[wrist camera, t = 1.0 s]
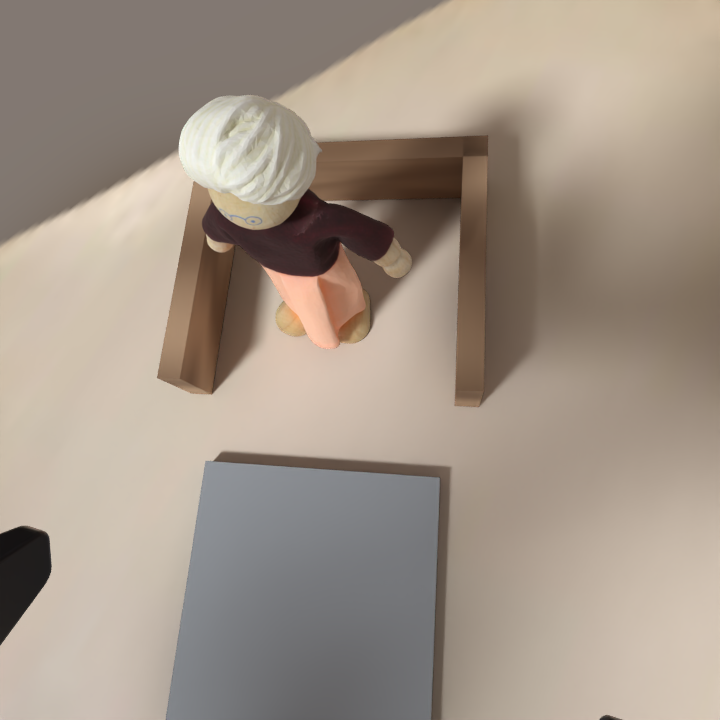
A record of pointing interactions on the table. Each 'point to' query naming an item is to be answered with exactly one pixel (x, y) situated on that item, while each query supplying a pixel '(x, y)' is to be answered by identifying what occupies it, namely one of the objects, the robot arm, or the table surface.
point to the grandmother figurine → (285, 216)
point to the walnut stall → (343, 182)
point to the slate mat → (308, 597)
